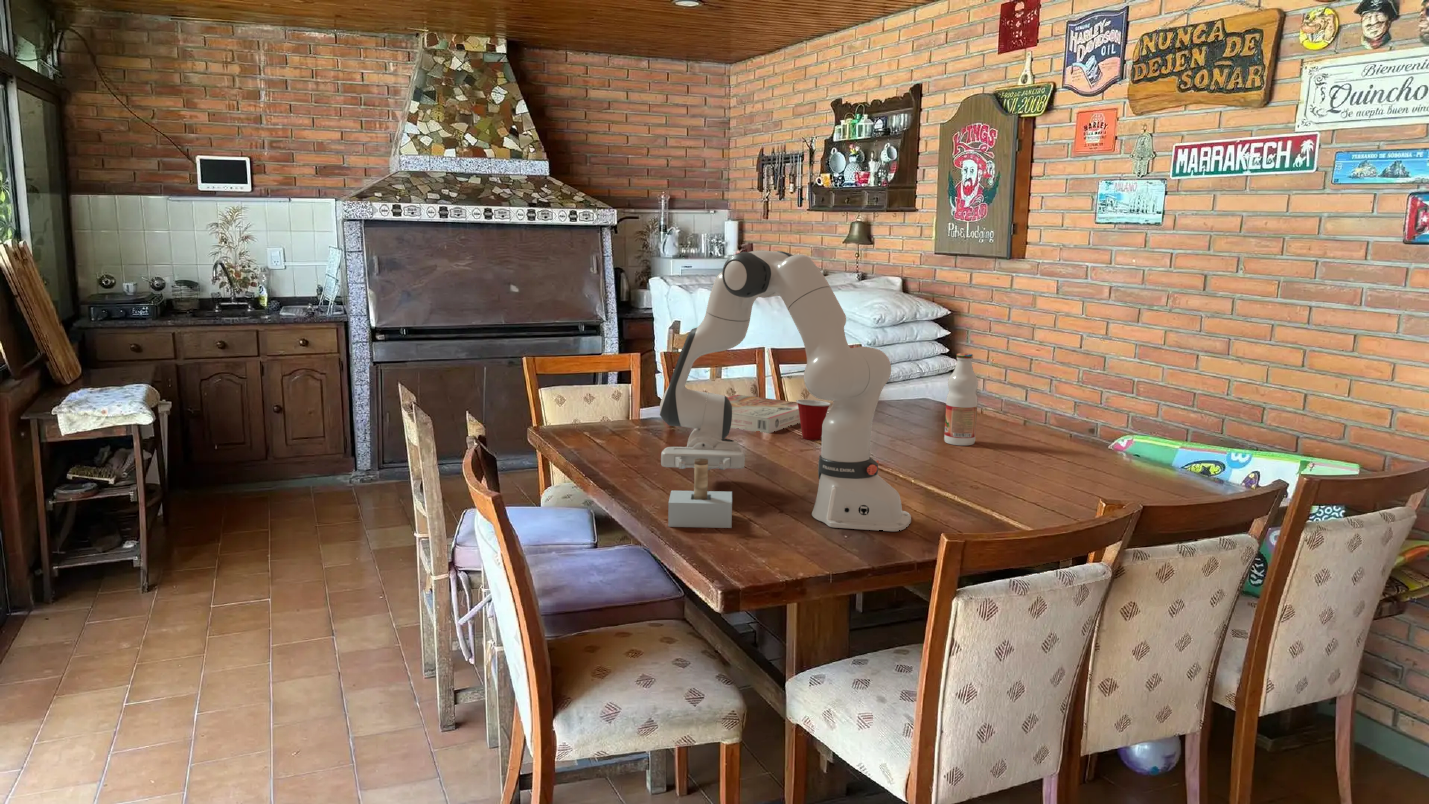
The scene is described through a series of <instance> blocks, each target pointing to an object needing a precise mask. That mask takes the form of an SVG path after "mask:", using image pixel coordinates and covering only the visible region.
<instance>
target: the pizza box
mask: <svg viewBox="0 0 1429 804" xmlns="http://www.w3.org/2000/svg"><path fill="white" fill-rule="evenodd" d="M726 397H727V398H728V399H729V401H730V403H731V405H732V422H731V428H730V429H736V428H739V429H738V430H743V429H745V430H744V431H749V432H750V431H751V432H756V431H760V432H759V433H763V432H764V433H765V434H772V433H774V431H775V432H777V431H780V430H783V428H784V429H786V428H789V427H791V426H790V425H792V426H795V425H797V423H798V424H800V416H799V409H798V403H797V401H789V400H784V399H783V400H782V399H774V398H766V397H760V396H759V397H758V396H751V395H745V394H744V395H742V394H734V395H732V396H726ZM705 406H706V405H705ZM788 426H789V427H788Z"/></svg>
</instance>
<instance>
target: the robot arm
mask: <svg viewBox="0 0 1429 804" xmlns="http://www.w3.org/2000/svg"><path fill="white" fill-rule="evenodd" d="M776 296H777V297H780V298H781V299H782V301H783V303H784V305H785V307H786V309H787V311H788V313H789V315H790V317H791V318H792V321H793V323H794V325H795V326H796V328H797V330H798V333H799V335H800V337H801V339H802V343H803V346H804V351H805V355H806V365H805V368H804V372H803V381H804V385H805V388H806V389H807V391H808V393H809V394H810V395H812V396H813V397H815V398H816V399H817V400H823V401H831V402H832V401H833V402H832V405H831V407H830V409H829V411H828V412H827V414H826V417H825V419H824V421H823V424H822V436H821V450H820V451H821V452H820V454H819V458H818V466H817V474H818V480H819V481H818V488H817V494H816V498H815V501H814V502H815V503H814V506H813V509H812V512H811V516H812V517H813V518H814V519H815V520H817V521H819V522H822V523H824V524H826V525H827V526H828V527H830V528H836V529H838V528H839V529H852V530H853V529H854V530H865V531H869V530H870V531H879V530H883V531H882V532H900V531H902V530H905V529H907V528H908V527H909V526H910V525H911V523H912V515H911V514H910V513H909V512H908V511H906V510H903V508H902V507H903V506H902V500H901V496H900V493H899V492H898V491H897V490H896V489H895V488H894V487H893V486H891V485H890V484H889V483H888V482H887V481H885V480H884V479H883V478H882V477H881V476H880V475H879V473H878V472H879V465H880V464H879V459H877V460H876V461H875V460H874V458H872V457H871V441H872V426H873V421H874V416H875V413H876V409H877V406H878V402H879V399H880V396H881V393H882V391H883V389H884V387H885V386H886V384H887V383H888V381H889V380H890V377H891V375H892V365H891V361H890V359H889V357H888V356H887V354H886V353H884V351H882V350H880V349H878V348H874V347H870V346H862V345H861V346H855V347H851V346H850V345H849V343H848V340H847V338H846V333H845V325H846V323H847V316H846V313H845V311H844V309H843V308H842V306H841V304H840V302H839V300H838V299H837V297H836V294H835V293H834V291H833V289H832V287H831V285H830V283H829V282H828V280H827V279H826V277H825V275H824V274H823V272H822V271H821V269H819V267H818V265H816V263H815V262H814V261H813V259H812V258H810V257H809V256H808V255H805V254H794V255H793V254H791V253H789V252H786V251H781V250H780V251H779V250H777V251H772V250H764V249H763V250H762V249H761V250H752V251H741V252H739V253H738V252H737V253H736V254H733V255H731V256H730V257H728V259H727V260H726V261H725V263H724V265H723V268H722V271H721V272H720V273H719V274H718V275H717V276H716V277H715V279H714V282H713V285H712V288H711V291H710V294H709V297H708V301H707V305H706V311H705V314H704V317H703V320H702V322H701V323H699V325H698V326H696V327H693V328H692V329H690V331H689V333H688V334H687V336H686V338H685V341H684V344H683V347H682V349H681V351H680V353H679V356H678V358H677V361H676V363H675V367H674V368H673V369H674V370H673V372H672V375H671V379H670V382H669V384H668V387H667V388H666V390H665V392H664V393H663V395H662V396H661V397H662V398H661V400H660V404H659V416H660V417H661V419H662V420H663V422H664V423H665V424H666V425H667V426H669V427H670V426H671V427H680V428H681V427H684V428H689V429H690V428H691V429H693V430H692V431H691V433H690V434H689V436H688V439H687V442H686V443H687V444H686V446H667V447H665V448H664V449H662V450H661V453H660V465H661V467H664V468H678V469H679V470H680V469H682V470H686V468H689V469H690V468H693V469H694V460H695V459H698V458H704V459H708V471H710V470H716V469H718V470H722V471H725V470H726V469H736V470H738V469H739V470H741V469H744V468H745V462H746V461H745V450H744V449H743V447H742V446H740V444H739V441H738V440H736V439H728V438H727V437H728V435H729V434H730V431H731V429H732V428H731V422H732V405H731V403H730V401H729V399H728V398H727V397H728V396H726V395H724V394H719V393H713V392H705V391H699V390H695V389H689V388H687V387H686V385H687V382H688V379H689V376H690V372H691V371H692V368H693V365H694V363H695V361H696V360H697V359H699V358H700V357H702V356H705V355H708V354H712V353H718V352H723V351H728V350H731V349H734V348H735V347H737V346H738V345H739V344H741V343H742V342H743V341H744V340H745V338H746V337H747V333H748V329H749V325H750V321H751V317H752V316H751V315H752V310H753V305H754V302H755V301H756V299H758V298H762V299H763V298H771V297H776ZM705 405H706V406H705ZM909 524H910V525H909ZM906 527H907V528H906ZM899 530H900V531H899Z"/></svg>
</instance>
